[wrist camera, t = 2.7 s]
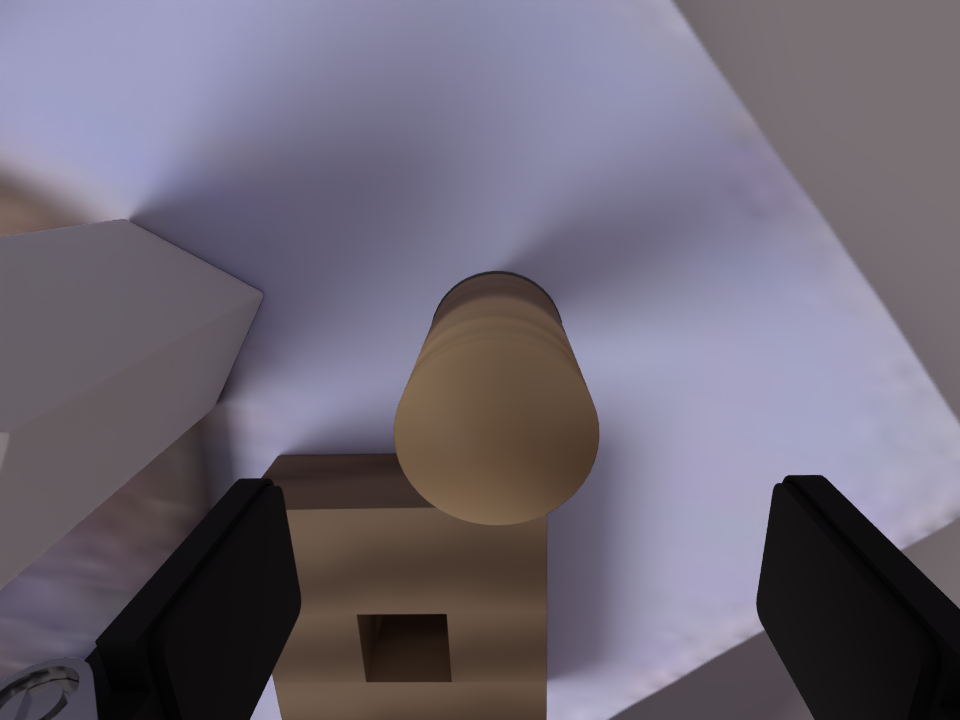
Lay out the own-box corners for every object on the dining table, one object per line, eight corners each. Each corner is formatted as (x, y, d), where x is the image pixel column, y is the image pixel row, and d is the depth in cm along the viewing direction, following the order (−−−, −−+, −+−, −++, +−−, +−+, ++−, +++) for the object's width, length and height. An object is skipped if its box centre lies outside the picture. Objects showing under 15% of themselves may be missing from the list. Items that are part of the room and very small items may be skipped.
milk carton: (267, 292, 27) (-194, 547, 9) (215, 407, 29) (-239, 799, 11) (126, 216, 26) (-706, 335, 8) (84, 342, 28) (-646, 656, 10)
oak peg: (438, 254, 26) (381, 342, 13) (552, 250, 26) (605, 335, 13) (445, 361, 28) (401, 528, 15) (551, 358, 28) (597, 525, 15)
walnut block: (278, 455, 30) (236, 510, 25) (538, 450, 29) (546, 505, 25) (319, 683, 35) (291, 764, 31) (539, 683, 35) (546, 765, 30)
